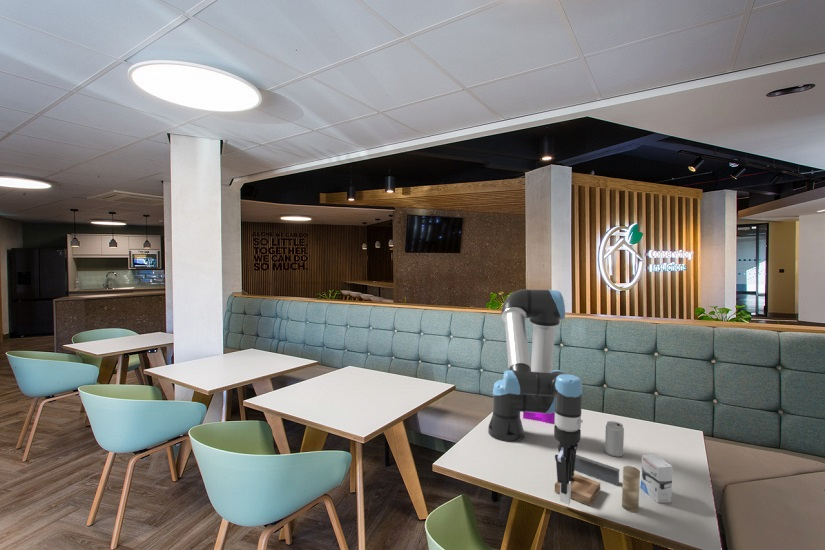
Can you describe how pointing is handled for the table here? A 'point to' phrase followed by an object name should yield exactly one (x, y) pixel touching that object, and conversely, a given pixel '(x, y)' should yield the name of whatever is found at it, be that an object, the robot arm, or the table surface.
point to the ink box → (656, 478)
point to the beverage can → (614, 438)
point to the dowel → (630, 488)
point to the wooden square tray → (582, 489)
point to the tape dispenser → (540, 416)
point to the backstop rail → (597, 470)
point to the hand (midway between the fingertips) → (565, 501)
